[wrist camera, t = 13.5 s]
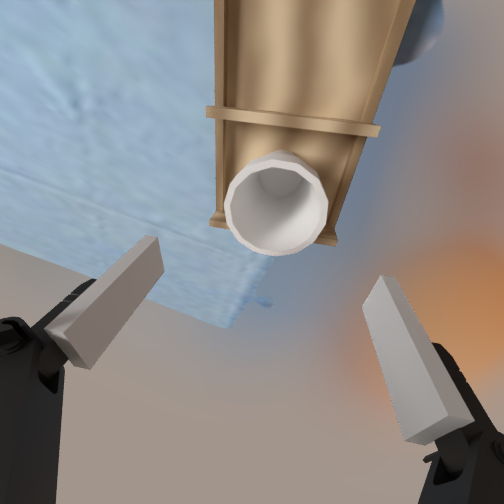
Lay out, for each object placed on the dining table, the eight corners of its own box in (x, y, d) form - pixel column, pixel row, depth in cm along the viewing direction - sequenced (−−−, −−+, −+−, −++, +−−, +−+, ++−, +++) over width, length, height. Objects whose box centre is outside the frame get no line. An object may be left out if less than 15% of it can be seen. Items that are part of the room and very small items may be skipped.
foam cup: (235, 181, 32) (207, 221, 21) (273, 119, 27) (260, 133, 16) (287, 217, 34) (283, 270, 23) (331, 166, 29) (352, 205, 18)
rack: (221, 209, 36) (209, 226, 31) (222, -73, 20) (198, -129, 15) (329, 225, 35) (335, 246, 30) (428, -64, 18) (476, -122, 13)
